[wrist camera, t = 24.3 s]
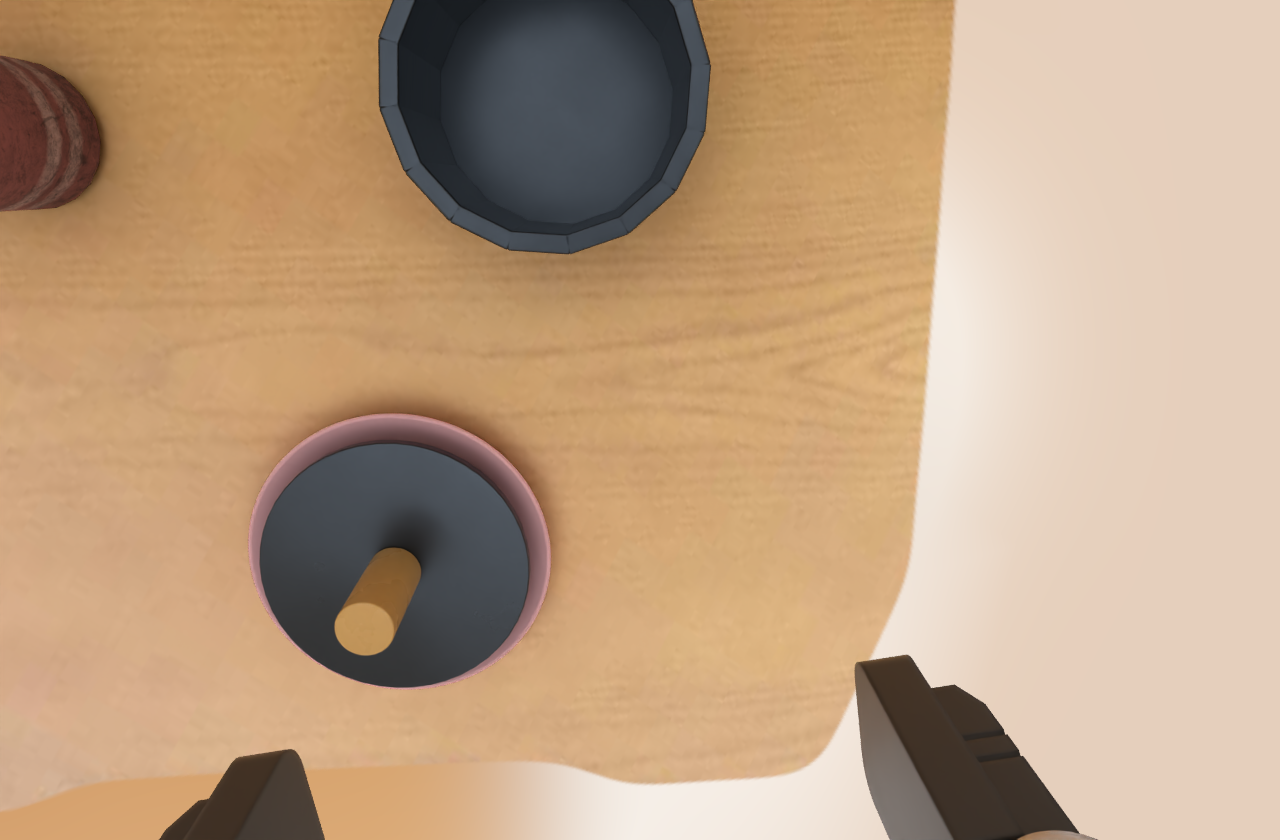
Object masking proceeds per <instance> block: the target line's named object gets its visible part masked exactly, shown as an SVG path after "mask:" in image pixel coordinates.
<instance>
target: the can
mask: <svg viewBox="0 0 1280 840" xmlns="http://www.w3.org/2000/svg"><path fill="white" fill-rule="evenodd" d="M99 156H100V137H99V133H98V129H97V125H96V121H95V117H94V116H93V114H92V112H91V110H90V109H89V107H88V105H87V103H86V101H85V100H84V98H83V96H82V95H81V94H80V93H79V92H78V91H77V90H76V89H75V88H74V87H73V86H72V85H71V84H70V83H69V82H68V81H67V80H66V79H65V78H64V77H62V76H61V75H59V74H57V73H55V72H54V71H52V70H50V69H48V68H47V67H45V66H43V65H41V64H36V63H32V62H28V61H24V60H19V59H15V58H10V57H5V56H0V211H17V210H35V209H46V208H57V207H59V206H61V205H63V204H65V203H68V202H70V201H72V200H74V199H76V198H77V197H78V196H79V195H80V194H81V193H82V192H83V191H84V190H85V189H86V188H87V187H88V186H89V185H90V184H91V181H92V179H93V177H94V174H95V172H96V170H97V167H98V165H99Z"/></svg>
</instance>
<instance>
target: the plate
mask: <svg viewBox="0 0 1280 840" xmlns="http://www.w3.org/2000/svg"><path fill="white" fill-rule="evenodd" d="M375 440H404V441H413V442H418V443H423V444H427V445H431V446H434V447H437V448H440V449H442V450H445V451H448V452H450V453H452V454H454V455H456V456H458V457H460V458H462V459H464V460H466V461H467V462H469V463H470V464H472V465H473V466H475V467H476V468H477V469H479V470H480V471H482V472H483V473H484V474H485V475H486V476H487V477H488V478H489V479H491V480H492V481H493V482H494V483H495V484H496V485H497V487H498V488H499V489H500V490H501V491H502V492H503V493H504V495H505V496H506V497H507V499H508V500H509V502H510V503H511V505H512V506H513V508H514V509H515V511H516V513H517V515H518V517H519V519H520V522H521V524H522V526H523V529H524V532H525V535H526V538H527V542H528V548H529V554H530V580H529V588H528V593H527V597H526V601H525V605H524V608H523V610H522V613H521V615H520V617H519V620H518V622H517V624H516V625H515V627H514V629H513V630H512V632H511V634H510V635H509V636H508V638H507V639H506V640H505V641H504V643H503V644H502V645H501V646H500V647H499V648H498V649H497V650H496V651H495V652H494V653H493V654H492V655H491V656H490V657H489V658H487V659H486V660H485V661H483V662H482V663H480V664H479V665H478V666H476V667H475V668H473V669H471V670H469V671H467V672H466V673H464V674H462V675H460V676H457V677H455V678H452V679H450V680H447V681H444V682H440V683H436V684H432V685H427V686H420V687H409V688H393V687H383V686H377V687H382V688H390V689H425V688H432V687H438V686H443V685H447V684H451V683H454V682H457V681H460V680H463V679H466V678H468V677H471V676H473V675H475V674H477V673H479V672H481V671H483V670H485V669H486V668H488V667H490V666H491V665H493V664H494V663H496V662H497V661H498V660H500V659H501V658H502V657H504V656H505V655H506V654H507V653H508V652H509V651H510V650H512V649H513V648H514V647H515V646H516V645H517V643H518V642H519V641H520V640H521V639H522V638H523V636H524V635H525V634H526V633H527V631H528V630H529V628H530V627H531V625H532V624H533V622H534V620H535V619H536V617H537V615H538V613H539V611H540V608H541V606H542V604H543V601H544V598H545V595H546V592H547V588H548V583H549V578H550V570H551V547H550V539H549V533H548V529H547V525H546V521H545V518H544V515H543V513H542V510H541V507H540V505H539V503H538V501H537V499H536V497H535V495H534V493H533V492H532V490H531V488H530V487H529V485H528V484H527V482H526V481H525V479H524V478H523V477H522V475H521V474H520V473H519V471H518V470H517V469H516V468H515V467H514V466H513V465H512V464H511V463H510V462H509V461H508V460H507V459H506V458H505V457H504V456H503V455H502V454H501V453H500V452H498V451H497V450H496V449H495V448H493V447H492V446H491V445H489V444H488V443H487V442H485V441H484V440H482V439H480V438H479V437H477V436H475V435H474V434H472V433H470V432H468V431H466V430H464V429H462V428H460V427H457V426H455V425H452V424H450V423H447V422H444V421H441V420H437V419H434V418H429V417H425V416H419V415H412V414H401V413H383V414H371V415H365V416H359V417H355V418H351V419H347V420H344V421H341V422H338V423H335V424H332V425H330V426H328V427H326V428H323V429H322V430H320V431H318V432H316V433H314V434H312V435H311V436H309V437H307V438H306V439H305V440H303V441H302V442H300V443H299V444H298V445H296V446H295V447H294V448H293V449H292V450H291V451H289V452H288V453H287V454H286V455H285V456H284V457H283V458H282V459H281V461H280V462H279V463H278V464H277V465H276V466H275V468H274V469H273V470H272V472H271V473H270V475H269V476H268V478H267V479H266V481H265V483H264V485H263V486H262V488H261V490H260V493H259V495H258V497H257V500H256V502H255V505H254V508H253V512H252V516H251V520H250V526H249V536H248V552H249V562H250V568H251V573H252V577H253V580H254V584H255V587H256V589H257V592H258V595H259V597H260V599H261V601H262V603H263V605H264V607H265V609H266V611H267V612H268V614H269V616H270V617H271V619H272V620H273V622H274V623H275V624H276V626H277V627H278V628H279V630H280V631H281V632H282V633H283V634H284V635H285V637H286V638H287V639H288V640H289V641H290V642H291V643H292V644H293V645H294V646H296V647H297V648H298V649H299V650H300V651H301V652H303V653H304V654H305V655H306V656H308V657H309V658H310V659H312V660H313V661H315V660H314V659H313V658H311V657H310V656H309V655H308V654H306V653H305V652H304V651H302V650H301V649H300V648H299V647H298V646H297V645H296V644H295V643H294V641H293V640H292V639H291V638H290V637H289V636H288V635H287V633H286V632H285V631H284V629H283V628H282V627H281V626H280V624H279V622H278V620H277V619H276V617H275V615H274V614H273V612H272V610H271V608H270V605H269V603H268V600H267V598H266V596H265V592H264V588H263V584H262V581H261V573H260V565H259V560H260V544H261V538H262V532H263V529H264V526H265V523H266V520H267V517H268V515H269V513H270V511H271V509H272V507H273V505H274V503H275V501H276V500H277V498H278V497H279V495H280V494H281V493H282V491H283V490H284V488H285V487H286V486H287V485H288V484H289V483H290V482H291V481H292V480H293V479H294V478H295V477H296V476H297V475H298V474H299V473H300V472H301V471H302V470H304V469H305V468H306V467H308V466H309V465H310V464H311V463H313V462H314V461H316V460H318V459H319V458H321V457H323V456H325V455H326V454H328V453H330V452H333V451H335V450H338V449H340V448H343V447H345V446H349V445H353V444H357V443H360V442H367V441H375ZM315 662H316V663H318V662H317V661H315ZM318 664H319V665H321V664H320V663H318ZM321 666H323V665H321ZM323 667H325V666H323ZM325 668H326V667H325ZM326 669H328V668H326ZM328 670H330V669H328ZM330 671H332V670H330ZM332 672H334V671H332ZM334 673H336V672H334ZM336 674H338V673H336ZM338 675H340V674H338ZM341 676H342V675H341ZM343 677H345V676H343ZM346 678H347V677H346ZM348 679H350V678H348ZM351 680H353V679H351ZM354 681H356V680H354ZM357 682H359V681H357ZM360 683H362V682H360ZM364 684H367V683H364ZM367 685H371V684H367ZM372 686H376V685H372Z"/></svg>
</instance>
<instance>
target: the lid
mask: <svg viewBox="0 0 1280 840" xmlns="http://www.w3.org/2000/svg"><path fill="white" fill-rule="evenodd" d="M259 565H260V573H261V581H262V584H263V588H264V592H265V596H266V598H267V600H268V603H269V605H270V608H271V610H272V612H273V614H274V615H275V617H276V619H277V620H278V622H279V624H280V626H281V627H282V628H283V629H284V631H285V632H286V633H287V635H288V636H289V637H290V638H291V639H292V640H293V641H294V643H295V644H296V645H297V646H298V647H299V648H300V649H301V650H302V651H304V652H305V653H306V654H308V655H309V656H310V657H311V658H313V659H314V660H315V661H317V662H318V663H320V664H321V665H323V666H325V667H326V668H328V669H330V670H332V671H334V672H336V673H338V674H340V675H342V676H345V677H347V678H350V679H353V680H356V681H359V682H362V683H367V684H371V685H376V686H383V687H393V688H409V687H420V686H427V685H432V684H436V683H440V682H444V681H447V680H450V679H452V678H455V677H457V676H460V675H462V674H464V673H466V672H467V671H469V670H471V669H473V668H475V667H476V666H478V665H479V664H480V663H482V662H483V661H485V660H486V659H487V658H489V657H490V656H491V655H492V654H493V653H494V652H495V651H496V650H497V649H498V648H499V647H500V646H501V645H502V644H503V643H504V641H505V640H506V639H507V638H508V636H509V635H510V634H511V632H512V630H513V629H514V627H515V625H516V624H517V622H518V620H519V617H520V615H521V613H522V610H523V608H524V605H525V601H526V597H527V593H528V588H529V580H530V554H529V548H528V542H527V538H526V535H525V532H524V529H523V526H522V524H521V522H520V519H519V517H518V515H517V513H516V511H515V509H514V508H513V506H512V505H511V503H510V502H509V500H508V499H507V497H506V496H505V495H504V493H503V492H502V491H501V490H500V489H499V488H498V487H497V485H496V484H495V483H494V482H493V481H492V480H491V479H489V478H488V477H487V476H486V475H485V474H484V473H483V472H482V471H480V470H479V469H477V468H476V467H475V466H473V465H472V464H470V463H469V462H467V461H466V460H464V459H462V458H460V457H458V456H456V455H454V454H452V453H450V452H448V451H445V450H442V449H440V448H437V447H434V446H431V445H427V444H423V443H418V442H413V441H404V440H375V441H367V442H360V443H357V444H353V445H349V446H345V447H343V448H340V449H338V450H335V451H333V452H330V453H328V454H326V455H325V456H323V457H321V458H319V459H318V460H316V461H314V462H313V463H311V464H310V465H309V466H308V467H306V468H305V469H304V470H302V471H301V472H300V473H299V474H298V475H297V476H296V477H295V478H294V479H293V480H292V481H291V482H290V483H289V484H288V485H287V486H286V487H285V488H284V490H283V491H282V493H281V494H280V495H279V497H278V498H277V500H276V501H275V503H274V505H273V507H272V509H271V511H270V513H269V515H268V517H267V520H266V523H265V526H264V529H263V532H262V538H261V544H260V560H259Z"/></svg>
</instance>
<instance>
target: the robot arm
mask: <svg viewBox="0 0 1280 840" xmlns="http://www.w3.org/2000/svg"><path fill="white" fill-rule="evenodd" d="M855 684H856V695H857V705H858V715H859V726H860V738H861V748H862V757H863V764H864V769H865V774H866V779H867V783H868V786H869V790H870V793H871V796H872V799H873V802H874V804H875V807H876V809H877V811H878V814H879V816H880V818H881V820H882V823H883V825H884V827H885V830H886V832H887V834H888V836H889V839H890V840H1097V839H1095V838H1092V837H1089V836H1086V835H1083V834H1080V833H1079V832H1078V831H1077V829H1076V828H1075V826H1074V825H1073V824H1072V822H1071V821H1070V820H1069V818H1068V817H1067V816H1066V814H1065V813H1064V811H1063V810H1062V809H1061V807H1060V806H1059V804H1058V803H1057V802H1056V800H1055V799H1054V798H1053V796H1052V795H1051V794H1050V792H1049V791H1048V789H1047V788H1046V787H1045V785H1044V784H1043V783H1042V781H1041V780H1040V778H1039V777H1038V776H1037V774H1036V773H1035V772H1034V770H1033V769H1032V768H1031V766H1030V765H1029V763H1028V762H1027V761H1026V759H1025V758H1024V757H1023V756H1020V753H1019V750H1018V748H1017V747H1016V746H1015V744H1014V743H1013V741H1012V740H1011V739H1010V737H1009V736H1008V735H1005V733H1004V729H1003V728H1002V726H1001V725H1000V724H999V722H998V721H997V719H996V718H995V717H994V716H993V714H992V713H991V711H990V710H989V709H988V707H987V706H986V704H984V703H983V702H981V701H979V700H978V699H976V698H975V697H973V696H972V695H970V694H968V693H967V692H965V691H964V690H962V689H961V688H959V687H957V686H956V685H949V686H943V687H936V688H931V687H930V686H929V684H928V683H927V681H926V680H925V678H924V677H923V675H922V673H921V672H920V670H919V669H918V667H917V666H916V664H915V662H914V661H913V659H912V658H911V657H910V656H909V655H902V656H895V657H889V658H882V659H876V660H869V661H863V662H857V663H856V664H855ZM159 840H325V838H324V834H323V831H322V828H321V824H320V821H319V818H318V814H317V811H316V807H315V804H314V801H313V797H312V794H311V791H310V787H309V784H308V781H307V777H306V774H305V771H304V767H303V764H302V761H301V759H300V757H299V755H298V754H297V752H296V751H294V750H292V749H288V750H282V751H275V752H269V753H262V754H256V755H249V756H243V757H238V758H236V759H235V760H234V761H233V762H232V763H231V765H230V766H229V768H228V769H227V771H226V773H225V774H224V776H223V777H222V779H221V781H220V782H219V784H218V785H217V787H216V788H215V790H214V791H213V793H212V795H211V796H210V798H209V799H207V800H200V801H198V802H197V803H195V804H194V805H193V806H192V807H191V808H190V809H189V810H188V811H187V812H185V813H184V814H183V815H182V816H181V817H180V818H179V819H177V820H176V821H175V822H174V823H173V824H172V825H171V826H170V827H168V828H167V829H166V830H165V832H164V833H163V835H162V836H161V838H160V839H159Z"/></svg>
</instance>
